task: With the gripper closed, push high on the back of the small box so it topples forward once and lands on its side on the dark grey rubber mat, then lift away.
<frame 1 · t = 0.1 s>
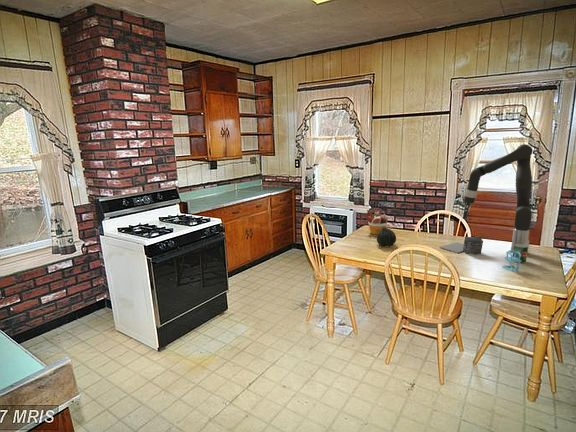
hand: (464, 217, 260), 22 cm above the table, tool pointing down, fingers open, 8 cm apart
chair: (511, 269, 218), on the table
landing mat: (456, 248, 260), on the table
canned tomato: (518, 261, 231), on the table
squash: (386, 245, 272), on the table
small box: (471, 251, 250), point 1 cm above the table
bucket of meat: (376, 233, 305), on the table
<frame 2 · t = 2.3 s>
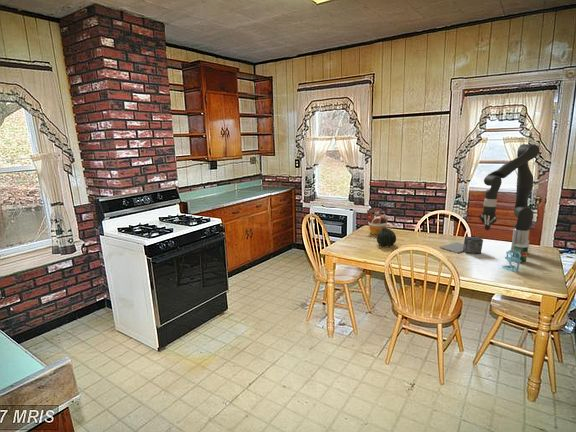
hand: (487, 229, 238), 19 cm above the table, tool pointing down, fingers closed
small box: (471, 251, 250), on the table, touching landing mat
everything else where it was.
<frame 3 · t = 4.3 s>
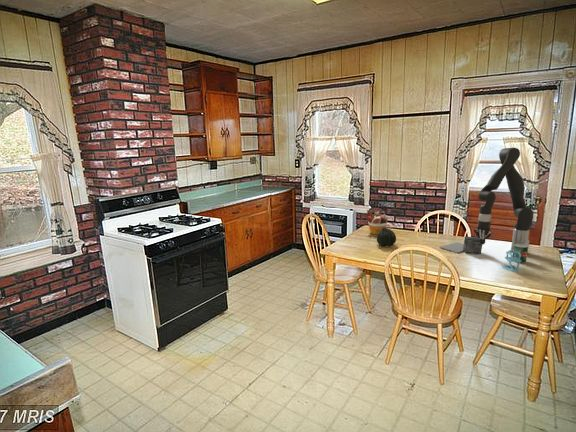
hand: (482, 244, 242), 8 cm above the table, tool pointing down, fingers closed
small box: (471, 251, 250), on the table, touching gripper, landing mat
everything else where it was.
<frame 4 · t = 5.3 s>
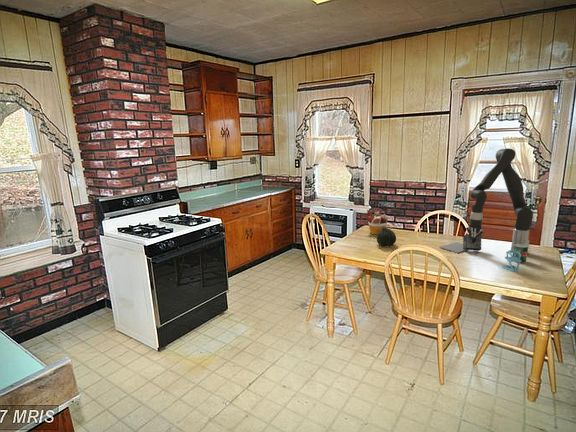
hand: (473, 241, 247), 8 cm above the table, tool pointing down, fingers closed
small box: (471, 250, 250), point 2 cm above the table, touching gripper, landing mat
everything else where it was.
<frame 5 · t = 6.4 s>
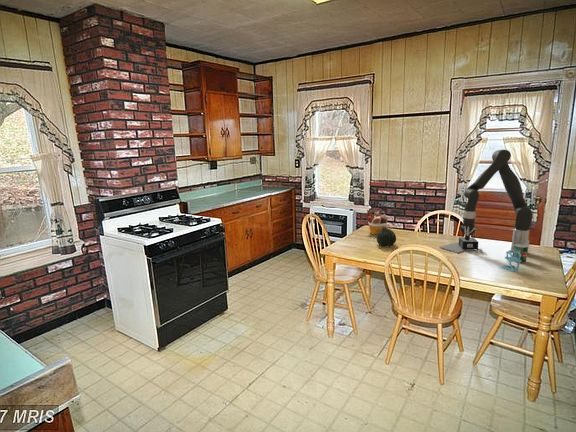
hand: (467, 240, 252), 8 cm above the table, tool pointing down, fingers closed
small box: (470, 245, 252), point 4 cm above the table, touching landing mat
everything else where it was.
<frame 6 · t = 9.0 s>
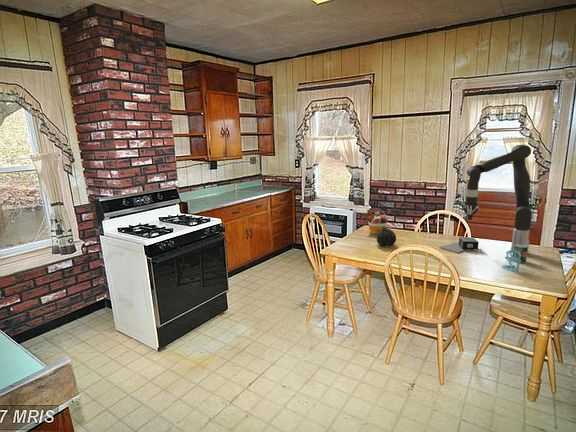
hand: (469, 219, 249), 23 cm above the table, tool pointing down, fingers closed
nothing on the table moved.
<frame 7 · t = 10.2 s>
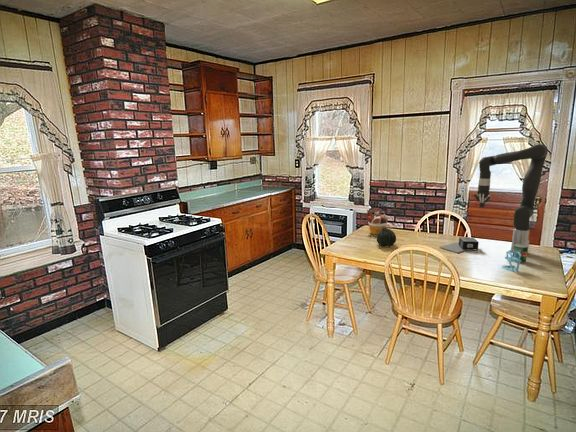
hand: (481, 207, 259), 29 cm above the table, tool pointing down, fingers closed
nothing on the table moved.
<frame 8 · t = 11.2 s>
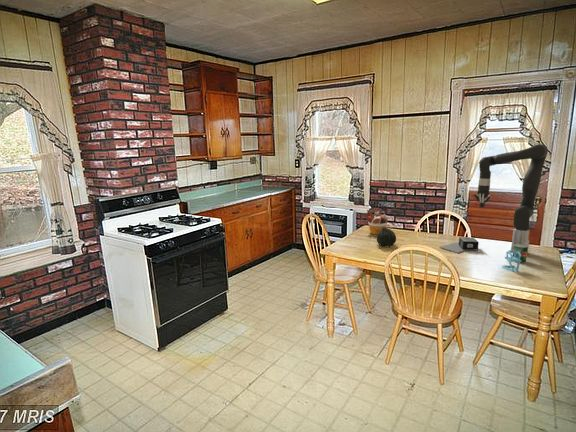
hand: (481, 207, 259), 29 cm above the table, tool pointing down, fingers closed
nothing on the table moved.
at the end: small box tilted 89°; small box touching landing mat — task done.
